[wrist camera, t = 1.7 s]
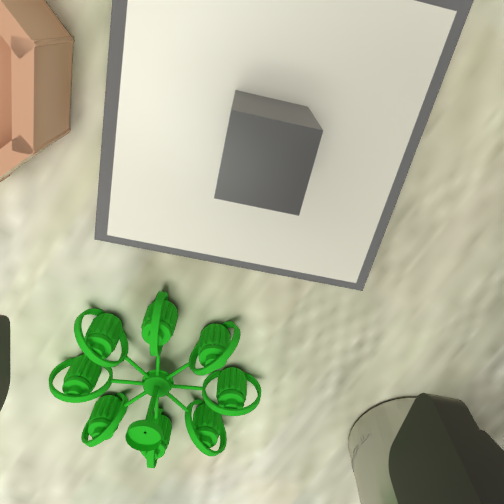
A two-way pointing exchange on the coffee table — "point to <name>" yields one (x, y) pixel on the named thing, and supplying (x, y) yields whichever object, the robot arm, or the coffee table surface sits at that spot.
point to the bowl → (32, 81)
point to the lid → (268, 125)
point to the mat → (460, 3)
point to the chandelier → (154, 381)
